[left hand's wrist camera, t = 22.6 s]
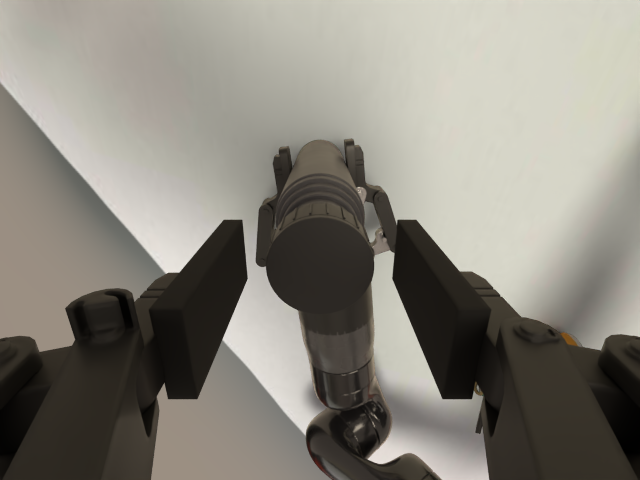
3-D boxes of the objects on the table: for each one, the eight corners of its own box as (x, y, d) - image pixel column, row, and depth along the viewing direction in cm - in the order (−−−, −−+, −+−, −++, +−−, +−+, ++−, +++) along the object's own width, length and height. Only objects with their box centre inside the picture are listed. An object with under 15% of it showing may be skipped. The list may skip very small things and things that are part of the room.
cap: (386, 256, 15) (396, 278, 13) (311, 306, 16) (310, 332, 14) (330, 181, 13) (331, 192, 12) (251, 239, 14) (241, 259, 12)
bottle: (320, 129, 34) (322, 174, 12) (352, 164, 35) (407, 263, 13) (287, 162, 35) (232, 259, 13) (319, 195, 37) (318, 333, 14)
